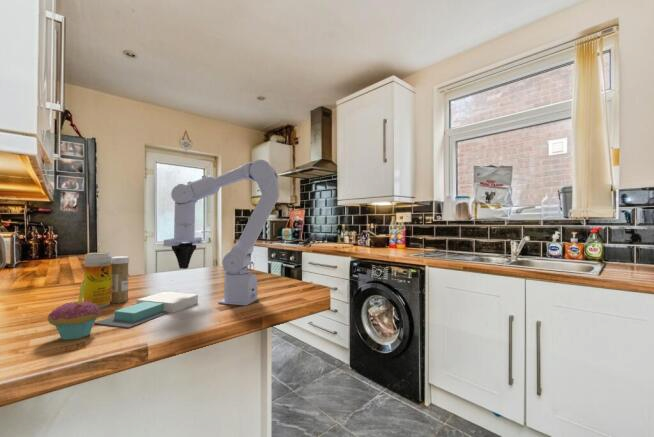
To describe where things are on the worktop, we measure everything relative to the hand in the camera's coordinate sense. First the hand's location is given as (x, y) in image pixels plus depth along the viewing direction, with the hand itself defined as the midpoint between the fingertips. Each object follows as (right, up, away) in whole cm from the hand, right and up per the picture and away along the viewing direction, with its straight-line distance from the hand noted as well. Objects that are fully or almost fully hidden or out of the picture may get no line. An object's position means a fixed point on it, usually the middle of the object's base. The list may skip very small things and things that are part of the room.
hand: (183, 268), depth 92 cm
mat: (-4, -10, -17) cm, 20 cm away
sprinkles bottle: (-18, -10, -2) cm, 21 cm away
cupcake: (-9, -10, -29) cm, 32 cm away
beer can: (-21, -10, -8) cm, 24 cm away
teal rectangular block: (-4, -9, -15) cm, 18 cm away
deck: (-2, -10, -6) cm, 12 cm away
